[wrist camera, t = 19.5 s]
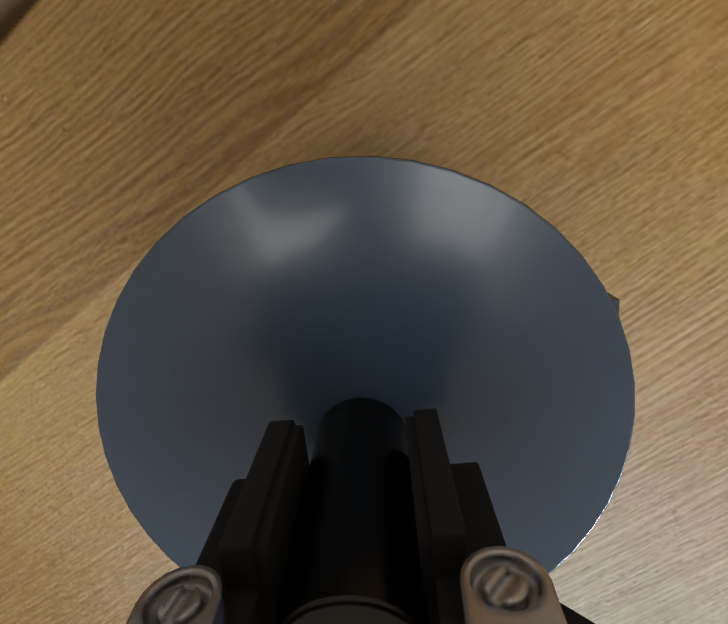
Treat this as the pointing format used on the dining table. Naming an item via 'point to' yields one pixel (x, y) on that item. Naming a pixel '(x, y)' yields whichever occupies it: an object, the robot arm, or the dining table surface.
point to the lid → (365, 371)
